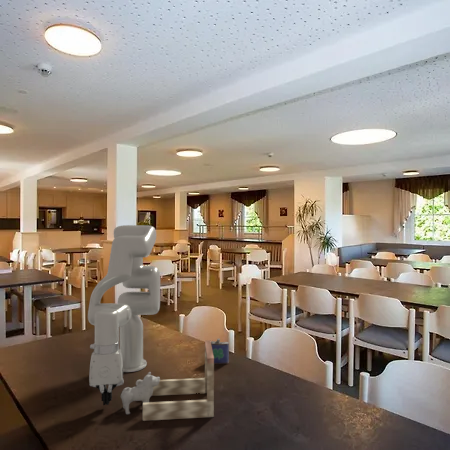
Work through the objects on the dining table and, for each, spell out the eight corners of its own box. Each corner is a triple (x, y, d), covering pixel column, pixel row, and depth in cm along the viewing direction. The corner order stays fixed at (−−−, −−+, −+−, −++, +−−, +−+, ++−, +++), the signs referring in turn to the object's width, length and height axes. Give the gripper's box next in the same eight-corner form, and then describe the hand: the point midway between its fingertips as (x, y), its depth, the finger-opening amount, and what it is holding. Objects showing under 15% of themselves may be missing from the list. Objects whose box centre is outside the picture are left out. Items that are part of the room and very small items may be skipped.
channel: (142, 420, 107) (142, 360, 107) (148, 394, 123) (148, 342, 123) (213, 416, 109) (213, 358, 109) (210, 391, 125) (210, 340, 125)
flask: (228, 361, 152) (228, 337, 152) (228, 364, 149) (228, 340, 149) (207, 361, 152) (207, 337, 152) (207, 364, 149) (207, 339, 149)
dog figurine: (161, 406, 115) (162, 374, 115) (122, 416, 109) (123, 382, 109) (156, 398, 120) (157, 368, 120) (119, 408, 114) (119, 376, 114)
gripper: (79, 352, 109) (79, 410, 109) (128, 350, 110) (128, 407, 111) (86, 344, 116) (86, 398, 117) (132, 342, 118) (131, 396, 118)
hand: (106, 402), depth 114 cm, fingers closed
